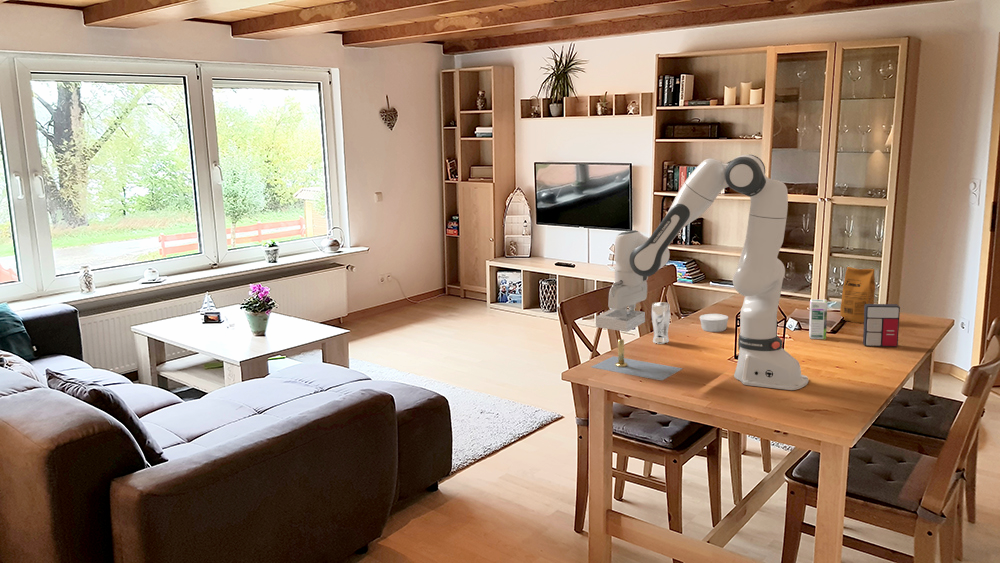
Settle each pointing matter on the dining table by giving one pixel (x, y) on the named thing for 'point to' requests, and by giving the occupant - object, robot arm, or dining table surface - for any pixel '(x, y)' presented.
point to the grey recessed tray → (620, 320)
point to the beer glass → (660, 322)
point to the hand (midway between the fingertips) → (627, 317)
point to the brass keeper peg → (621, 354)
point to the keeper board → (638, 368)
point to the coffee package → (857, 293)
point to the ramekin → (714, 322)
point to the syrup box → (818, 319)
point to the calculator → (881, 325)
